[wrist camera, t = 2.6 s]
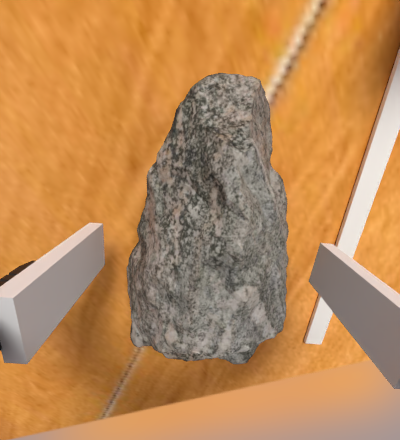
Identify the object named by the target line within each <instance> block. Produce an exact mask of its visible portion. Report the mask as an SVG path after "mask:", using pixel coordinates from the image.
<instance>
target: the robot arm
mask: <svg viewBox="0 0 400 440" xmlns="http://www.w3.org/2000/svg"><path fill="white" fill-rule="evenodd" d="M104 265H105V255H104V235H103V224H101V223H88V224H87V225H86V226H84V227H83V228H81V229H80V230H79V231H77V232H76V233H74V234H73V235H72V236H70V237H69V238H67V239H66V240H65V241H63V242H62V243H61V244H59V245H58V246H56V247H55V248H54V249H52V250H51V251H49V252H48V253H47V254H45V255H44V256H42V257H41V258H40V259H38V260H37V261H31V262H28V263H26V264H24V265H21V266H19V267H17V268H16V269H15V270H13V271H12V272H10V273H9V275H6V276H4V277H3V278H1V279H0V350H1V351H2V355H3V359H4V363H19V364H28V362H29V361H30V360H31V359H32V357H33V356H34V355H35V353H36V352H37V351H38V350H39V348H40V347H41V346H42V344H43V343H44V342H45V341H46V339H47V338H48V337H49V336H50V334H51V333H52V332H53V330H54V329H55V328H56V327H57V325H58V324H59V323H60V321H61V320H62V319H63V318H64V316H65V315H66V314H67V313H68V311H69V310H70V309H71V307H72V306H73V305H74V304H75V302H76V301H77V300H78V298H79V297H80V296H81V295H82V293H83V292H84V291H85V290H86V288H87V287H88V286H89V284H90V283H91V282H92V281H93V279H94V278H95V277H96V275H97V274H98V273H99V272H100V270H101V269H102V268H103V266H104ZM309 282H310V284H311V285H312V286H313V287H314V289H315V290H316V291H317V292H318V294H319V295H320V296H321V297H322V299H323V300H324V301H325V302H326V304H327V305H328V306H329V307H330V309H331V310H332V311H333V312H334V314H335V315H336V316H337V318H338V319H339V320H340V321H341V323H342V324H343V325H344V326H345V328H346V329H347V330H348V331H349V333H350V334H351V335H352V336H353V338H354V339H355V340H356V341H357V343H358V344H359V345H360V346H361V348H362V349H363V350H364V351H365V353H366V354H367V355H368V356H369V358H370V359H371V360H372V362H373V363H374V364H375V365H376V367H377V368H378V369H379V370H380V372H381V373H382V374H383V375H384V377H385V378H386V379H387V380H388V382H389V383H390V384H391V385H392V387H393V388H394V389H400V294H398V293H397V292H396V291H394V290H393V289H392V288H390V287H389V286H388V285H386V284H385V283H384V282H382V281H381V280H380V279H378V278H377V277H376V276H374V275H373V274H372V273H370V272H369V271H368V270H366V269H365V268H364V267H362V266H361V265H360V264H359V263H357V262H356V261H355V260H353V259H352V258H351V257H349V256H348V255H347V254H345V253H344V252H343V251H341V250H340V249H339V248H337V247H336V246H335V245H333V244H326V243H320V246H319V249H318V253H317V256H316V259H315V263H314V266H313V269H312V273H311V276H310V279H309Z"/></svg>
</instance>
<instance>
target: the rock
mask: <svg viewBox="0 0 400 440" xmlns="http://www.w3.org/2000/svg"><path fill="white" fill-rule="evenodd" d="M272 151H273V150H272V131H271V124H270V108H269V103H268V101H267V99H266V96H265V91H264V89H263V87H262V85H261V81H260V80H259V79H257V78H254V77H246V76H243V75H239V74H225V73H218V74H213V75H209V76H207V77H205V78H203V79H202V80H200V81H199V82H197V83H196V84H195V85H194V86H193V87H192V88H191V89H190V91H189V92H188V94H187V95H186V97H185V100H184V101H182V102H181V103H180V105H179V106H178V108H177V110H176V113H175V117H174V121H173V124H172V128H171V130H170V132H169V133H168V135H167V137H166V139H165V141H164V144H163V146H162V147H161V149H160V150H159V152H158V153H157V160H156V162H155V163H154V164H153V166H152V167H151V168H150V170H149V171H148V174H147V198H146V205H145V208H144V210H143V213H142V216H141V220H140V223H139V225H138V228H137V232H138V236H139V242H138V244H137V245H136V247H135V248H134V249H133V251H132V253H131V255H130V257H129V264H128V266H127V279H128V294H129V298H130V307H131V318H132V325H131V333H130V334H131V340H132V342H133V344H134V345H135V346H136V347H141V346H152V347H153V348H154V349H155V350H156V351H158V352H159V353H163V355H164V356H165V357H166V358H170V359H182V360H184V361H190V360H192V361H197V360H203V359H212V358H219V359H224V360H227V361H229V362H231V363H233V364H243V363H247V362H248V360H249V359H250V358H251V357H252V355H253V354H254V352H255V351H256V348H257V347H258V345H259V344H260V343H262V342H264V341H265V340H267V339H271V338H275V336H276V335H277V333H279V332H281V331H282V330H283V323H284V320H285V317H286V302H285V297H286V293H287V291H286V277H287V275H286V267H287V264H288V255H287V252H286V241H287V237H288V232H289V231H288V225H287V222H286V212H287V198H286V193H285V188H284V184H283V180H282V178H281V177H280V175H279V174H278V173H277V172H276V171H275V170H274V169H273V168H272V166H271V163H270V157H271V154H272Z"/></svg>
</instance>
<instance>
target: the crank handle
mask: <svg viewBox="0 0 400 440" xmlns="http://www.w3.org/2000/svg"><path fill="white" fill-rule="evenodd" d="M399 129H400V48H399V51H398V54H397V57H396V60H395V63H394V66H393V69H392V72H391V75H390V78H389V81H388V84H387V88H386V91H385V94H384V97H383V100H382V103H381V106H380V109H379V112H378V115H377V118H376V121H375V124H374V127H373V130H372V133H371V137H370V140H369V143H368V146H367V149H366V152H365V155H364V158H363V161H362V164H361V167H360V170H359V173H358V176H357V179H356V182H355V185H354V189H353V192H352V195H351V198H350V201H349V204H348V207H347V210H346V213H345V216H344V219H343V222H342V225H341V228H340V231H339V234H338V238H337V241H336V244H335V246H336V247H337V248H339V249H340V250H341V251H343V252H344V253H345V254H347V255H348V256H349V257H351V258H353V256H354V253H355V250H356V247H357V245H358V242H359V239H360V236H361V234H362V231H363V228H364V225H365V223H366V220H367V217H368V214H369V212H370V209H371V206H372V203H373V201H374V198H375V195H376V192H377V189H378V187H379V184H380V181H381V178H382V176H383V173H384V170H385V167H386V165H387V162H388V159H389V156H390V154H391V151H392V148H393V145H394V143H395V140H396V137H397V134H398V132H399ZM332 313H333V311H332V310H331V309H330V307H329V306H328V305H327V304H326V302H325V301H324V300H323V299H322V297H321V296H320V295H319V296H318V299H317V302H316V305H315V308H314V311H313V314H312V317H311V320H310V323H309V326H308V329H307V332H306V335H305V339H304V342H305V343H309V344H322V341H323V338H324V335H325V333H326V330H327V327H328V324H329V322H330V319H331V316H332Z"/></svg>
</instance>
